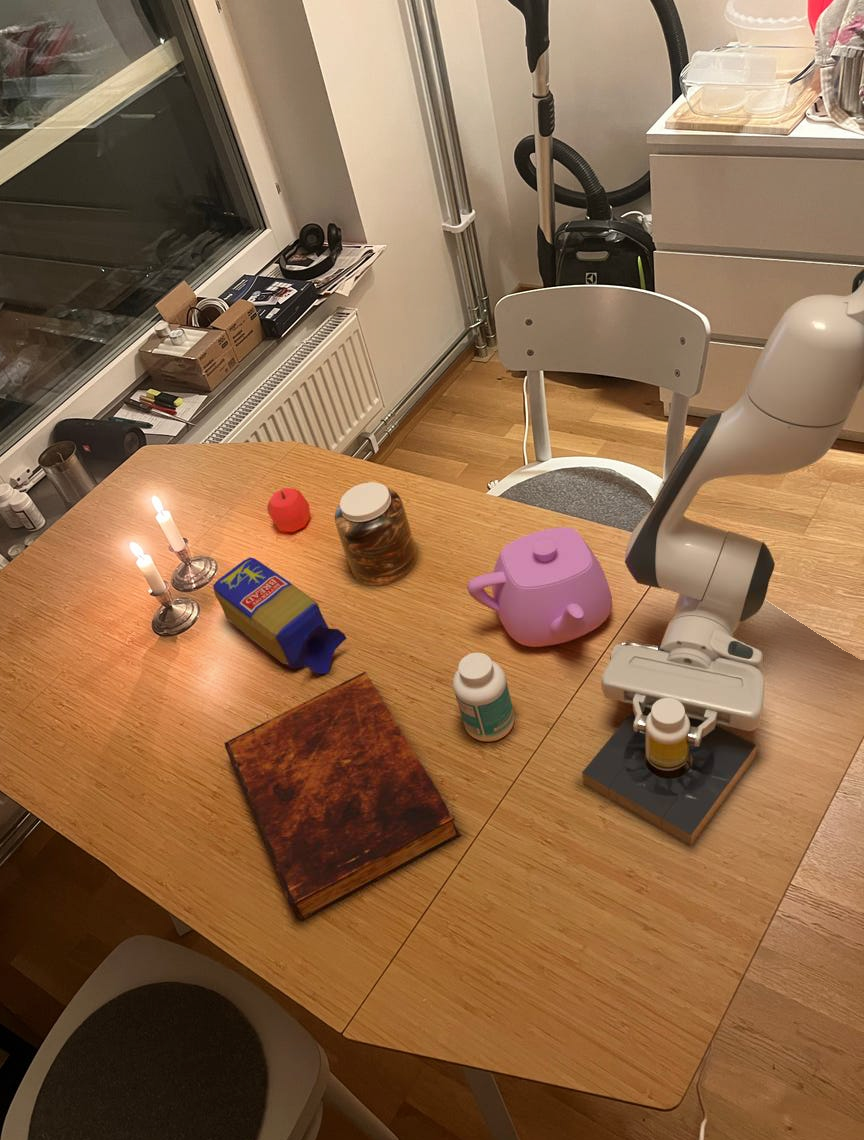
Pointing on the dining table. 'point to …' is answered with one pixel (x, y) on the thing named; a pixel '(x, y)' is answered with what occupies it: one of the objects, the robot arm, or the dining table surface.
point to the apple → (289, 509)
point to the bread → (277, 616)
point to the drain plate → (673, 800)
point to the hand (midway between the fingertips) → (666, 736)
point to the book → (338, 795)
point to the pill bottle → (483, 697)
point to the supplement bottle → (667, 735)
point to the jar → (375, 534)
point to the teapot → (546, 588)
